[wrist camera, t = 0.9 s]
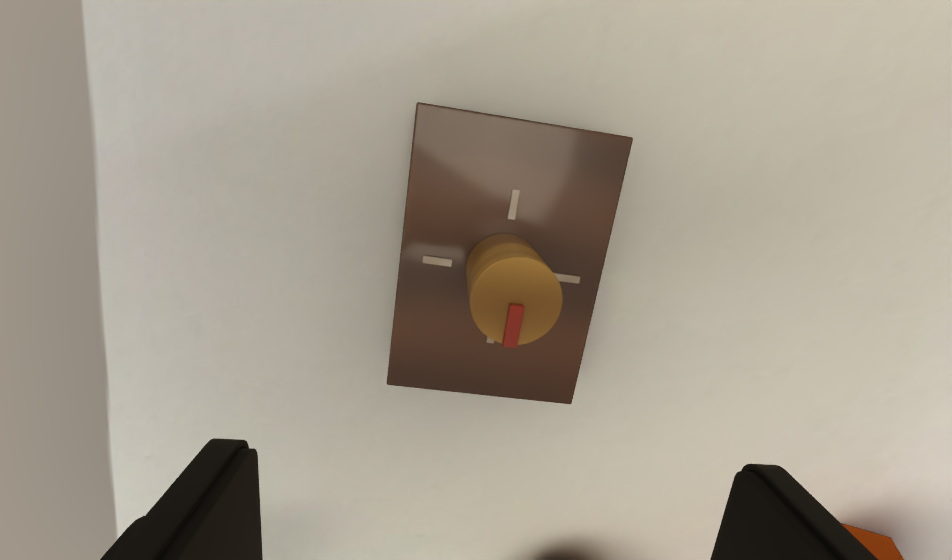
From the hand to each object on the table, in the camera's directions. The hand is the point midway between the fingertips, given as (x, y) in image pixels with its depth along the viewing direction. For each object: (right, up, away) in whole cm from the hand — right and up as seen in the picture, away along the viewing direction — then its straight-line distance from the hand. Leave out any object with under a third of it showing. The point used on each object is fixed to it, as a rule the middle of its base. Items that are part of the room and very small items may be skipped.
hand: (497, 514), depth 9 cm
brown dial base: (+1, +6, +16) cm, 17 cm away
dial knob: (+1, +5, +13) cm, 14 cm away
